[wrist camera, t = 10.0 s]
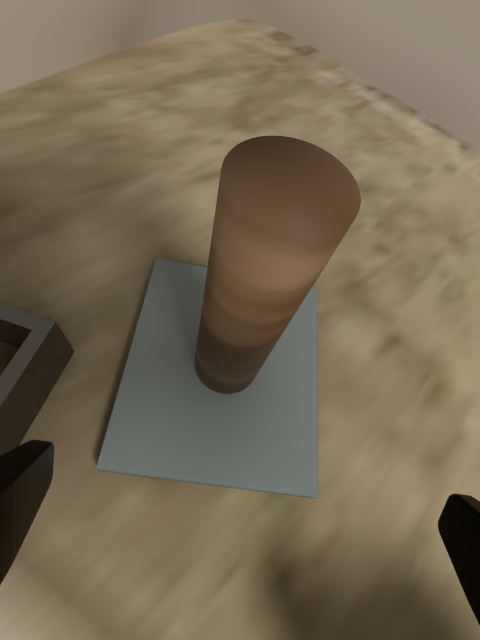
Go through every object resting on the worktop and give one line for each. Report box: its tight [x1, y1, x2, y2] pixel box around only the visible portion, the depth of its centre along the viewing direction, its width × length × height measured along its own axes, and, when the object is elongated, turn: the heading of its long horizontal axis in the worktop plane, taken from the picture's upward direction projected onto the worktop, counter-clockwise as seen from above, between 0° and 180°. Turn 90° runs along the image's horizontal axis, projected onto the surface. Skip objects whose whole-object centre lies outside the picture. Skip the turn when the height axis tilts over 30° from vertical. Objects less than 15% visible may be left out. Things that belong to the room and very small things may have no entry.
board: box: [96, 257, 318, 498], centre depth 22 cm, size 14×12×1 cm
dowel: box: [195, 136, 361, 394], centre depth 16 cm, size 4×4×14 cm
